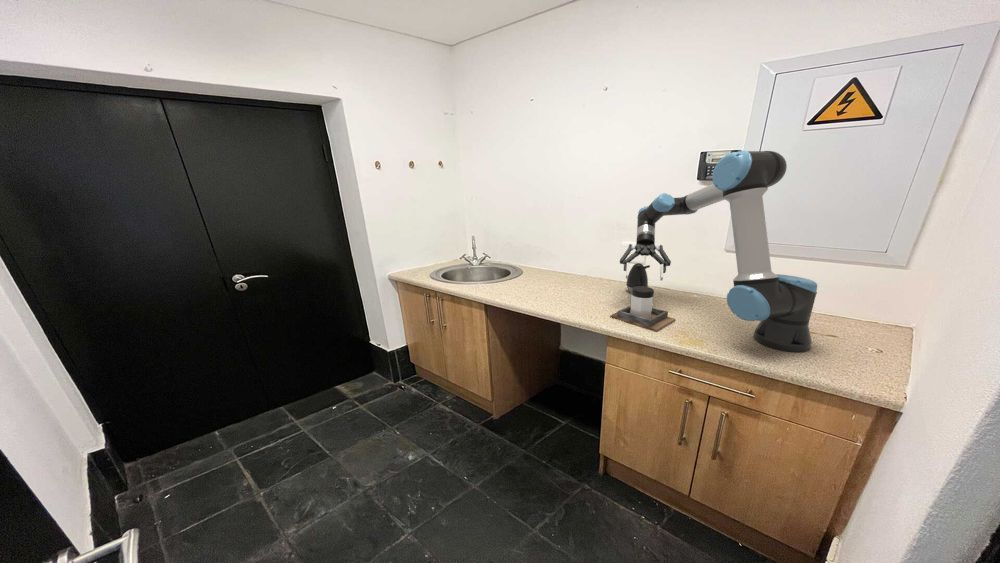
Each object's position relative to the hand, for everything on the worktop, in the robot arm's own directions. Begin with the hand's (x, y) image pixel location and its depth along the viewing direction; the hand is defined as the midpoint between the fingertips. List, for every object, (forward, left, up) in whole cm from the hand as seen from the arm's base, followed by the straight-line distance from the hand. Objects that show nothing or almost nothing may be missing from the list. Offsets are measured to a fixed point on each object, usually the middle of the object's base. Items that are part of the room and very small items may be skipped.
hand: (643, 278), depth 141 cm
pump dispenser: (+15, -24, -15) cm, 32 cm away
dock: (-5, +7, -15) cm, 18 cm away
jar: (-4, +8, -14) cm, 17 cm away
